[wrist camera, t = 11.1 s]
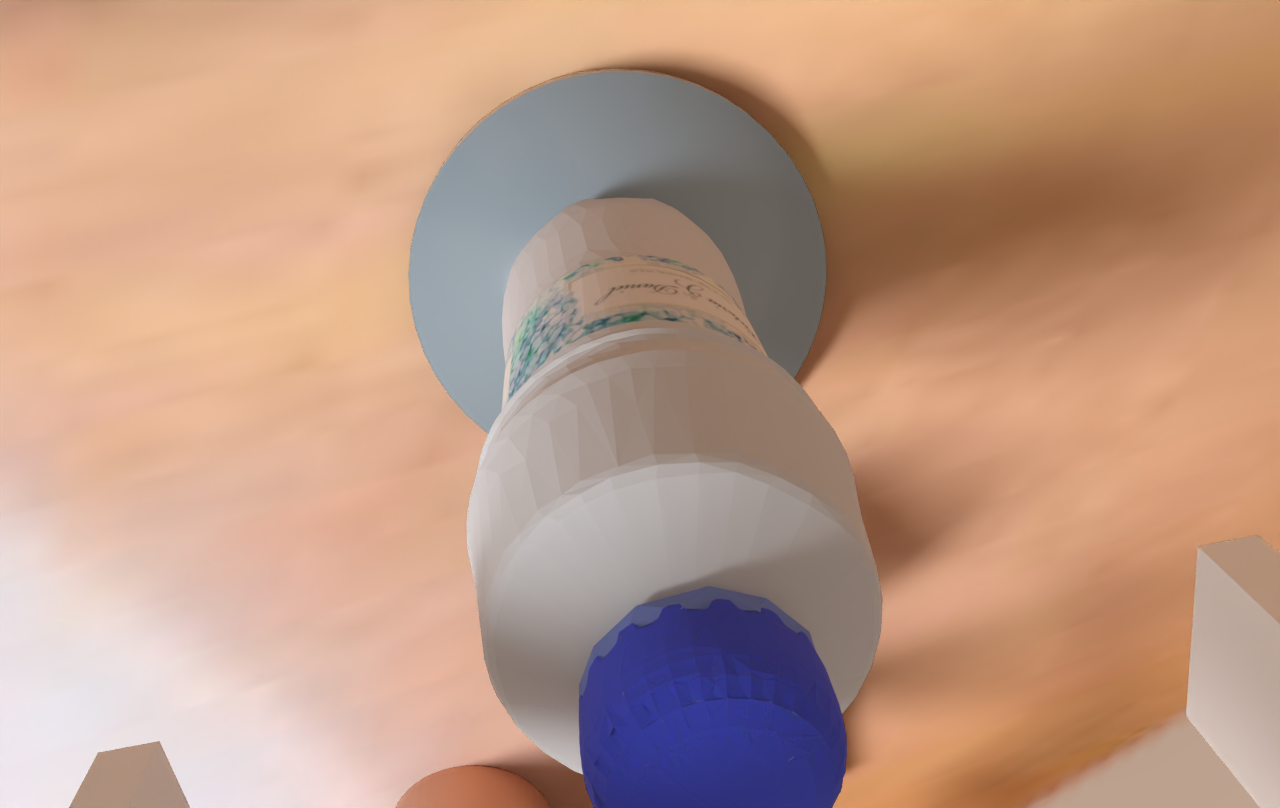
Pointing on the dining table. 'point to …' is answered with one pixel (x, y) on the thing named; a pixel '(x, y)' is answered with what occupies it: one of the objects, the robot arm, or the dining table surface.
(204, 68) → the dining table surface
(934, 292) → the dining table surface
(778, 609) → the bottle
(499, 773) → the peach rounded capsule
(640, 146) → the dish
